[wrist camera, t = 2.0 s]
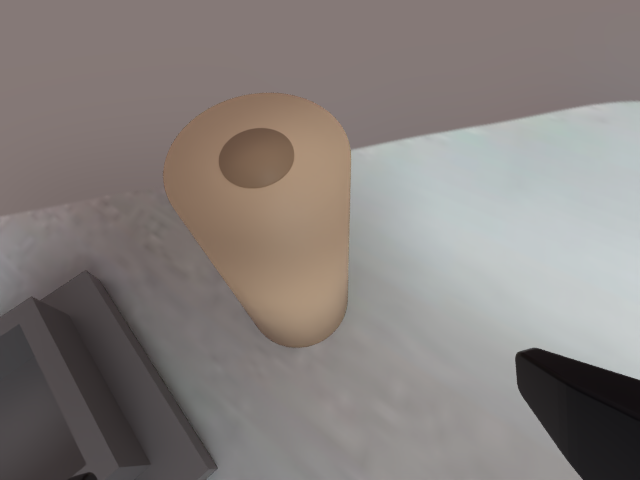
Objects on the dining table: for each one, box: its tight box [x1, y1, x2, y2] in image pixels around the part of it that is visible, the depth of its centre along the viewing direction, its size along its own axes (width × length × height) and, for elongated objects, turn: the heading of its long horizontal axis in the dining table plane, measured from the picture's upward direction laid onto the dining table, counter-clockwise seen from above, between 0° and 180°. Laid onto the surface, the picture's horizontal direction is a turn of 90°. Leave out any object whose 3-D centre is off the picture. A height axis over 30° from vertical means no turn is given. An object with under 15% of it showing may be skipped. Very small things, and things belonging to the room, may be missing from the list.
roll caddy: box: [0, 270, 217, 480], centre depth 18 cm, size 14×14×4 cm
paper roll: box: [163, 93, 351, 348], centre depth 18 cm, size 6×6×13 cm
